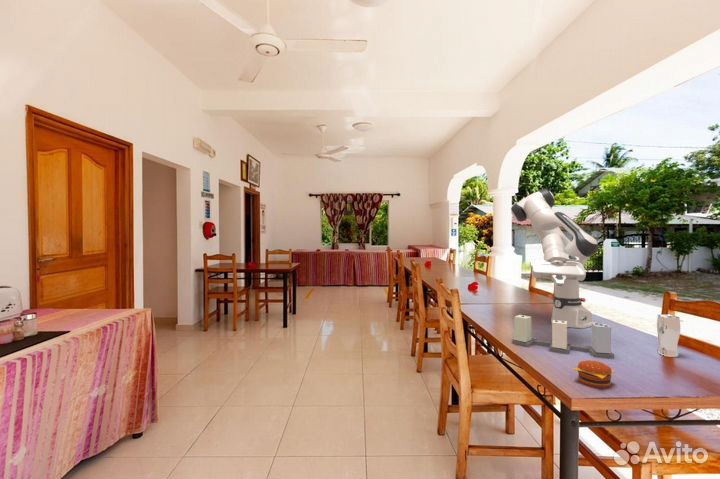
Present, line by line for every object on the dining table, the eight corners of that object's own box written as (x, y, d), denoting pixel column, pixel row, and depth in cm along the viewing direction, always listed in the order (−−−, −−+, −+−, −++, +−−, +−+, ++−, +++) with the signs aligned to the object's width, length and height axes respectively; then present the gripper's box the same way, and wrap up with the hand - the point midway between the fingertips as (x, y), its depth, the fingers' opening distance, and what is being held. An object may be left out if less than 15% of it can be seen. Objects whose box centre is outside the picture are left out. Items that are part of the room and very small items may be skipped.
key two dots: (553, 343, 150) (553, 319, 150) (567, 345, 148) (567, 320, 147) (552, 347, 146) (552, 321, 146) (566, 349, 143) (566, 323, 143)
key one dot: (519, 337, 160) (519, 314, 160) (531, 339, 156) (531, 316, 156) (514, 339, 157) (514, 315, 156) (525, 342, 153) (525, 317, 152)
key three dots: (591, 348, 144) (591, 322, 144) (605, 349, 143) (606, 323, 143) (596, 352, 139) (596, 325, 139) (611, 353, 138) (611, 326, 138)
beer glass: (684, 358, 137) (685, 318, 137) (663, 357, 139) (663, 318, 138) (672, 352, 144) (673, 314, 144) (652, 351, 145) (653, 313, 145)
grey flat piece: (515, 338, 165) (515, 334, 165) (612, 351, 145) (612, 348, 145) (510, 345, 155) (510, 341, 155) (614, 360, 135) (614, 356, 135)
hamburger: (604, 391, 110) (604, 369, 110) (571, 381, 118) (571, 360, 118) (617, 383, 116) (617, 362, 116) (585, 374, 124) (585, 354, 123)
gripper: (530, 255, 161) (533, 277, 151) (583, 257, 154) (589, 281, 145) (528, 265, 165) (531, 288, 155) (580, 268, 158) (586, 292, 149)
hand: (560, 284), depth 150 cm, fingers closed
